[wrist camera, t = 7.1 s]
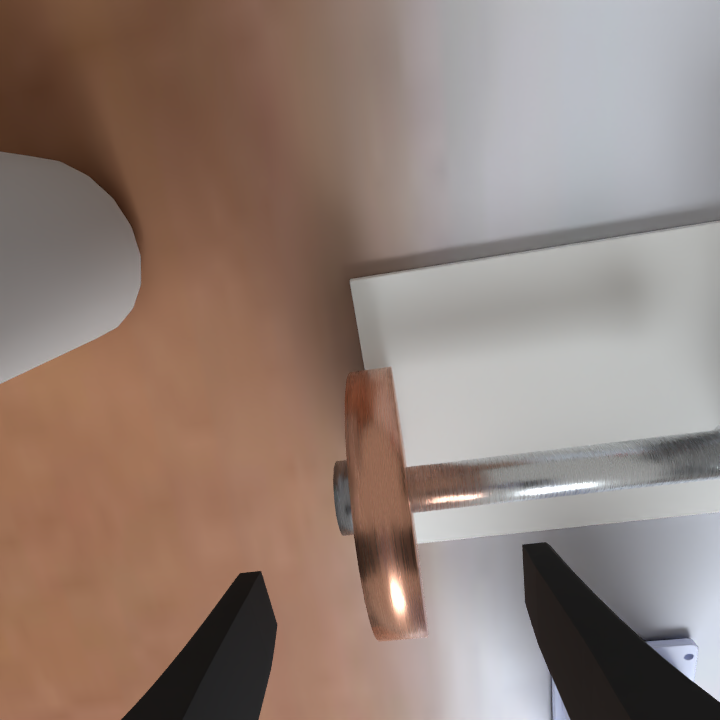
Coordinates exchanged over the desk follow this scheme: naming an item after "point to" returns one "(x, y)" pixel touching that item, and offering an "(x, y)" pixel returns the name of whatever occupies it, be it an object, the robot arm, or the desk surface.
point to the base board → (553, 365)
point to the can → (59, 262)
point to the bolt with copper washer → (468, 490)
